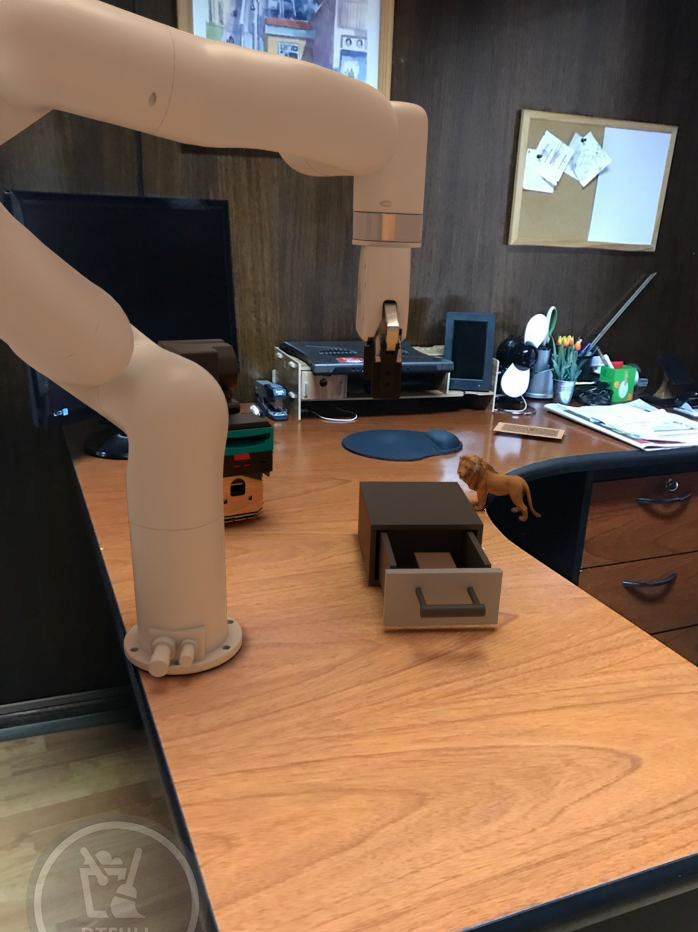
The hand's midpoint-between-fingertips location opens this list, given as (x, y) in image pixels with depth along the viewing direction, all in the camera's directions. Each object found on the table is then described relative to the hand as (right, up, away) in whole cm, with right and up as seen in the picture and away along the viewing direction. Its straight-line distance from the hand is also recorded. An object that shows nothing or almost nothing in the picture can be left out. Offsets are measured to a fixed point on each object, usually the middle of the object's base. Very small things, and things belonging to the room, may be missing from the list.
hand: (380, 388), depth 89 cm
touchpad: (+33, +3, +84) cm, 90 cm away
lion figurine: (+18, -14, +38) cm, 45 cm away
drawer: (+6, -26, +5) cm, 27 cm away
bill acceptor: (-27, -13, +36) cm, 46 cm away
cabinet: (+5, -21, +20) cm, 29 cm away
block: (+6, -24, +5) cm, 26 cm away
